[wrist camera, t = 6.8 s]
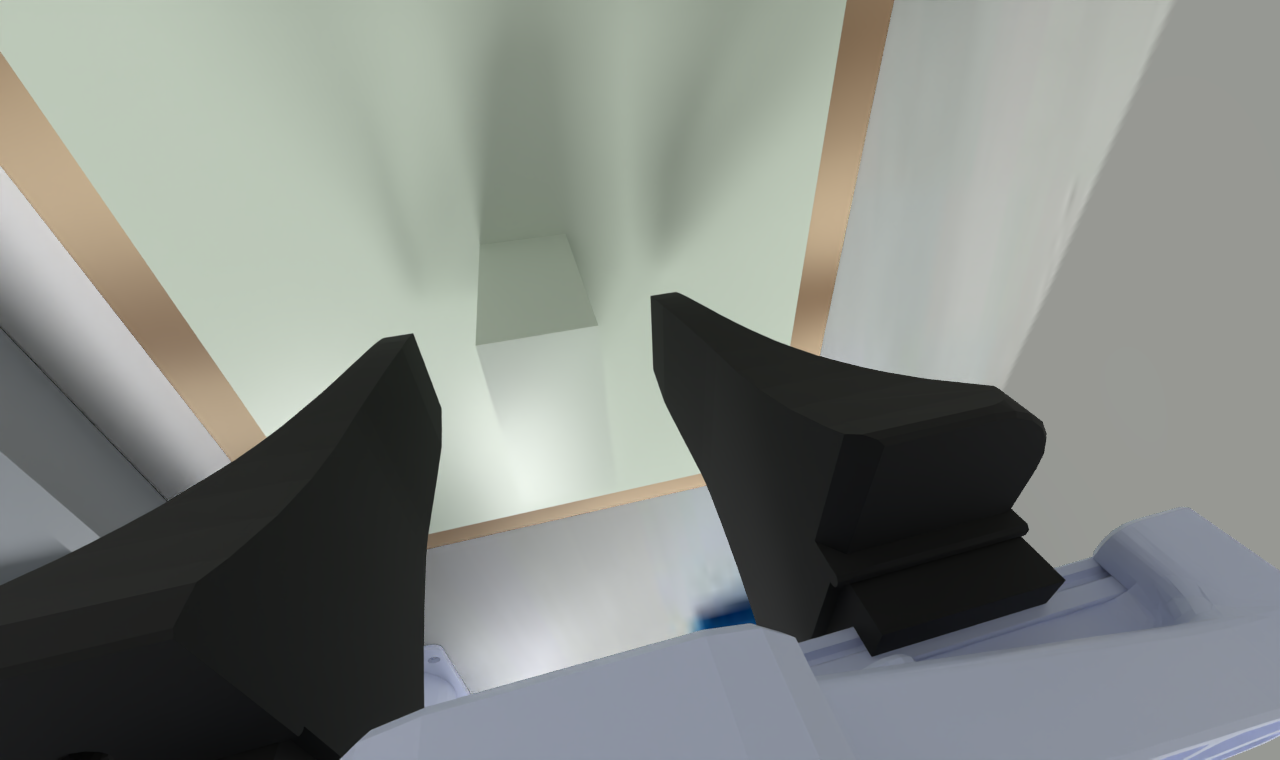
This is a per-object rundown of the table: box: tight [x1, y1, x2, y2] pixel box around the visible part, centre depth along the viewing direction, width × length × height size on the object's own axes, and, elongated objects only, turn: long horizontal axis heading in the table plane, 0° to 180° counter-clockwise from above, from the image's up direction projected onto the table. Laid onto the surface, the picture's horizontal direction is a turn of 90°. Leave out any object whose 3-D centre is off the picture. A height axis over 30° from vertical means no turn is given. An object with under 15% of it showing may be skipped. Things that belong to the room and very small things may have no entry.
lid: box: [0, 0, 847, 534], centre depth 11 cm, size 15×15×5 cm
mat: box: [0, 0, 894, 549], centre depth 13 cm, size 18×18×1 cm
